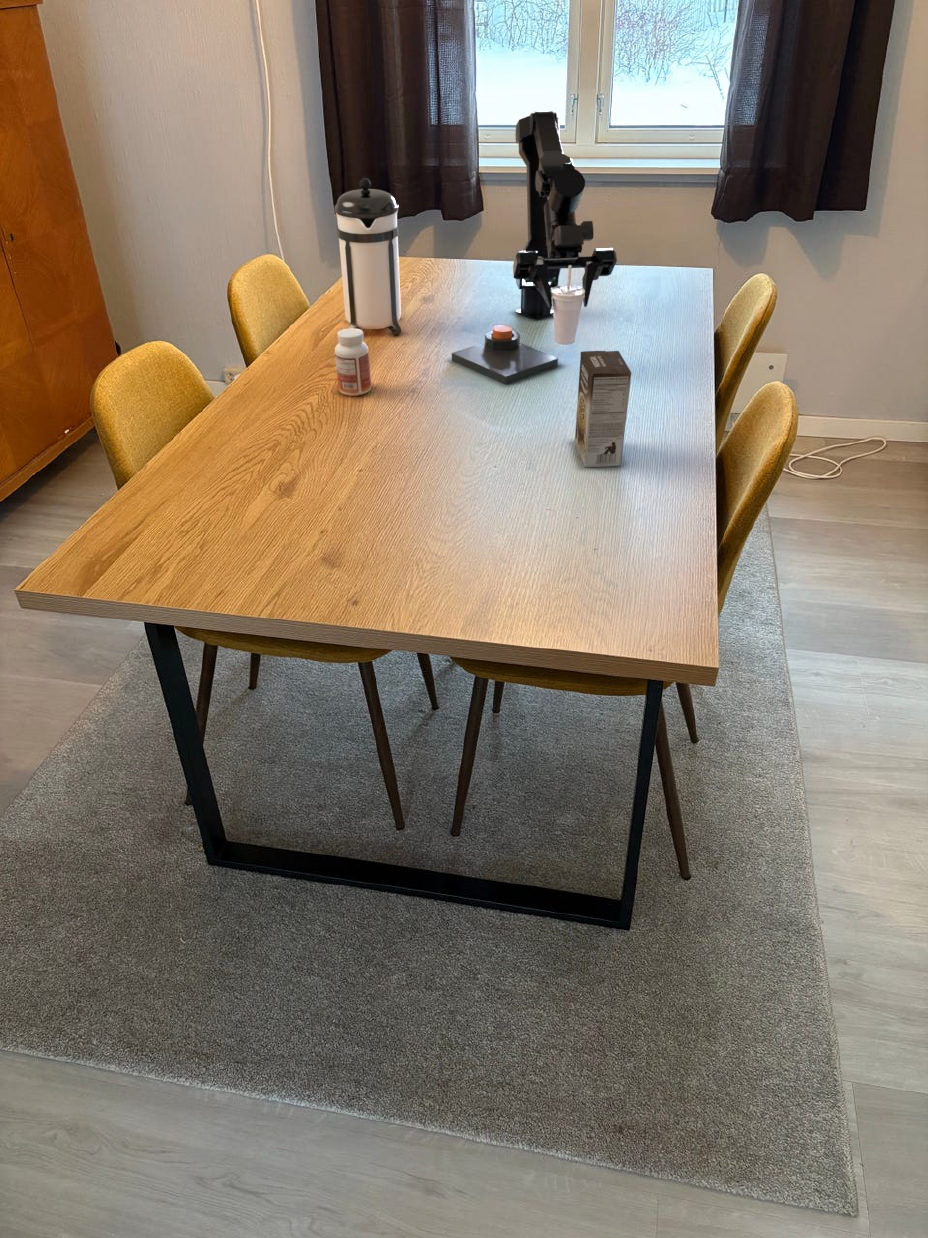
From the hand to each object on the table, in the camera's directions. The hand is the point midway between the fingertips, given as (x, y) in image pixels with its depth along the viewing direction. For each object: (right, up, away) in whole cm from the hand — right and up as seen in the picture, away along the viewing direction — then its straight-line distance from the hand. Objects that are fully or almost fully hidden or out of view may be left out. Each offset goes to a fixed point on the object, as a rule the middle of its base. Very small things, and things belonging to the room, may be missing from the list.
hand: (568, 306), depth 174 cm
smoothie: (0, -5, +6) cm, 7 cm away
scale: (-11, -7, +13) cm, 18 cm away
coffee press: (-39, +6, +30) cm, 50 cm away
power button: (-12, -1, +16) cm, 20 cm away
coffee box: (+3, -31, -19) cm, 36 cm away
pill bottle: (-40, -15, +3) cm, 43 cm away
